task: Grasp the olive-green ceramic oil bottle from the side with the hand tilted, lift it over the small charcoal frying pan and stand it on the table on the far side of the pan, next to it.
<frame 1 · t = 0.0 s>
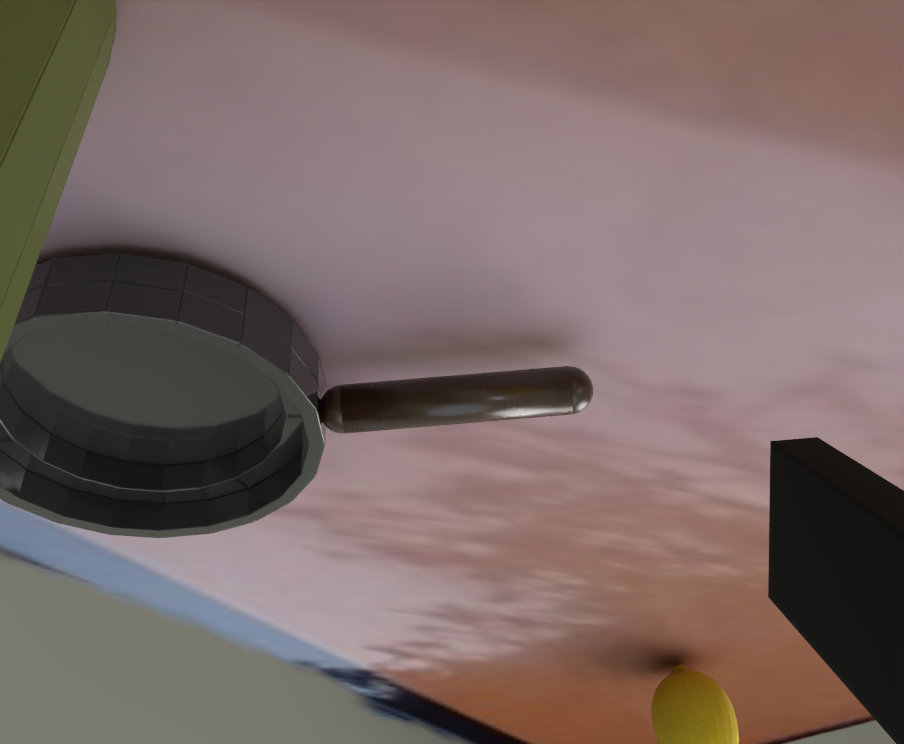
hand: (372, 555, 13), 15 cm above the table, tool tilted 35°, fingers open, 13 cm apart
lemon: (678, 662, 60), on the table
pan: (151, 376, 32), on the table
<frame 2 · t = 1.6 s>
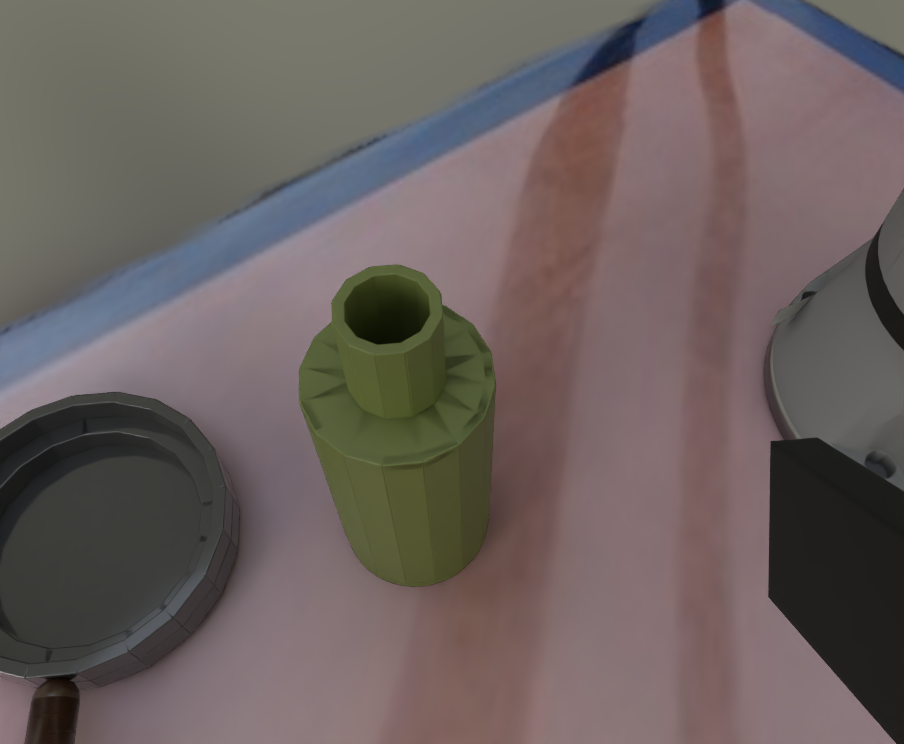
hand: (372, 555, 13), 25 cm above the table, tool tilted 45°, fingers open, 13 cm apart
oil bottle: (417, 517, 40), on the table
pan: (102, 546, 40), on the table
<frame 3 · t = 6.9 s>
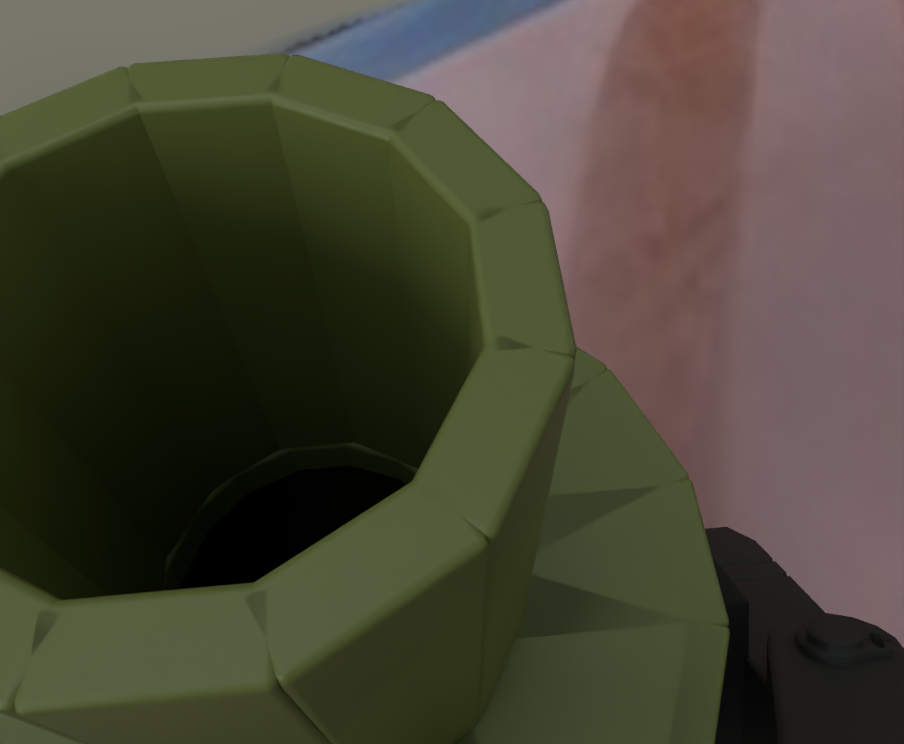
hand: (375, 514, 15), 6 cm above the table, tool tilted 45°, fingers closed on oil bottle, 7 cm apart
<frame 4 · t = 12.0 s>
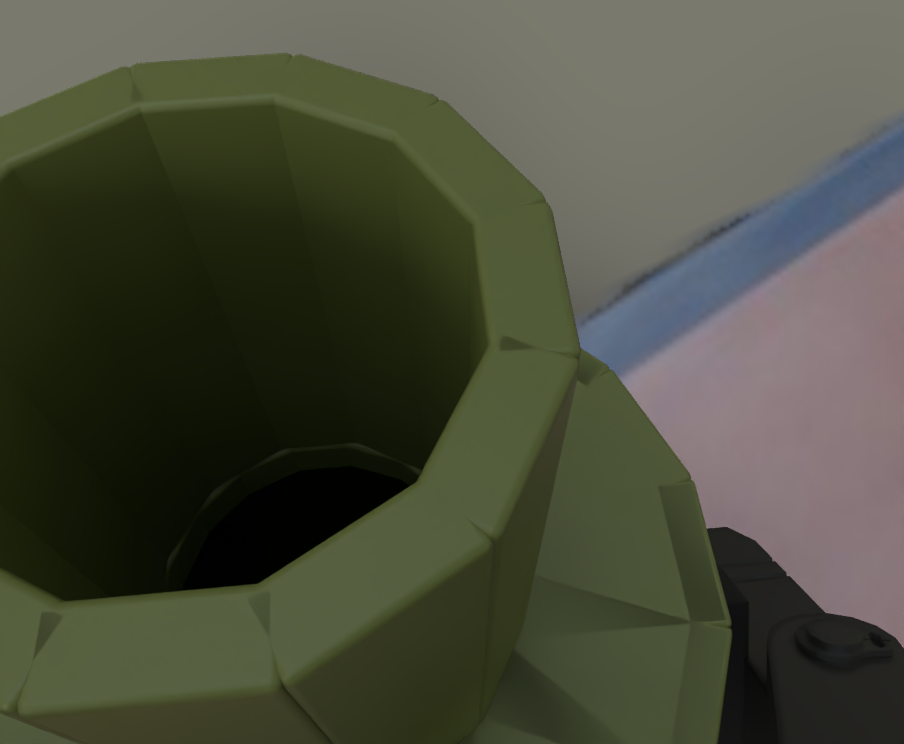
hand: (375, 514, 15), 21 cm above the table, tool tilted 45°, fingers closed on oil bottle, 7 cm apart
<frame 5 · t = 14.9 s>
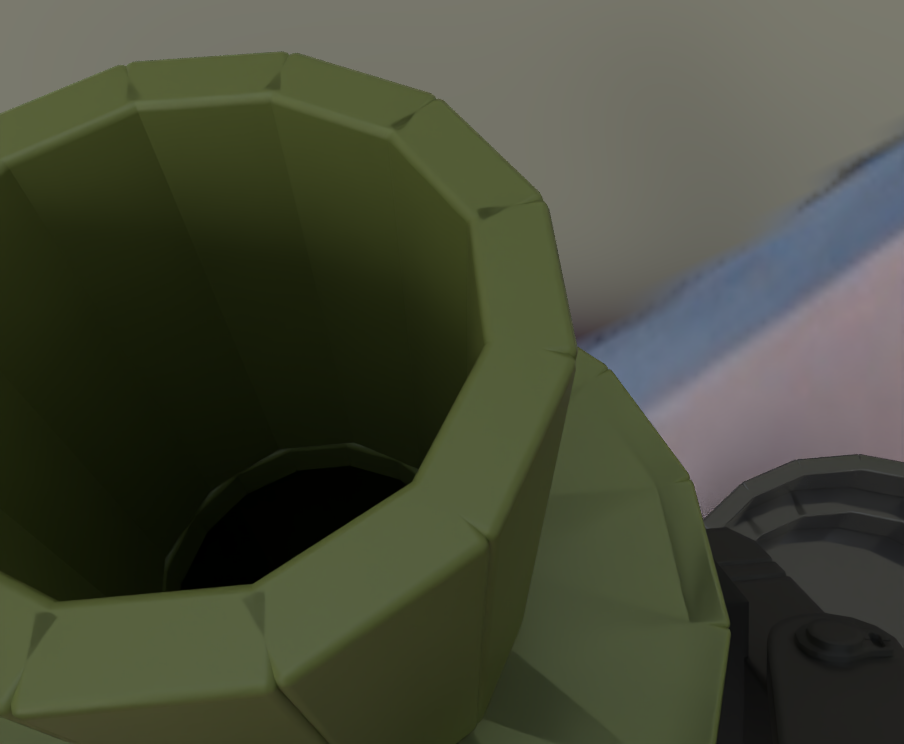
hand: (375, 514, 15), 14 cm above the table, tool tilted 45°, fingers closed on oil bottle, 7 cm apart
pan: (858, 687, 26), on the table
when the fingers open (6 cm above the table, at t = 17.4 s): oil bottle stays where it is, on the table.
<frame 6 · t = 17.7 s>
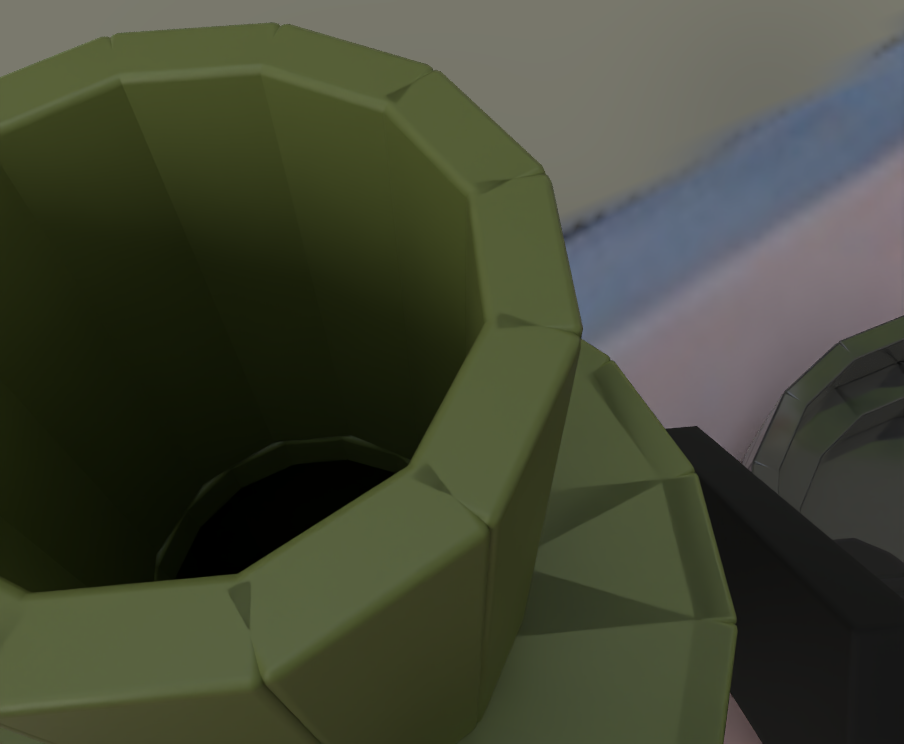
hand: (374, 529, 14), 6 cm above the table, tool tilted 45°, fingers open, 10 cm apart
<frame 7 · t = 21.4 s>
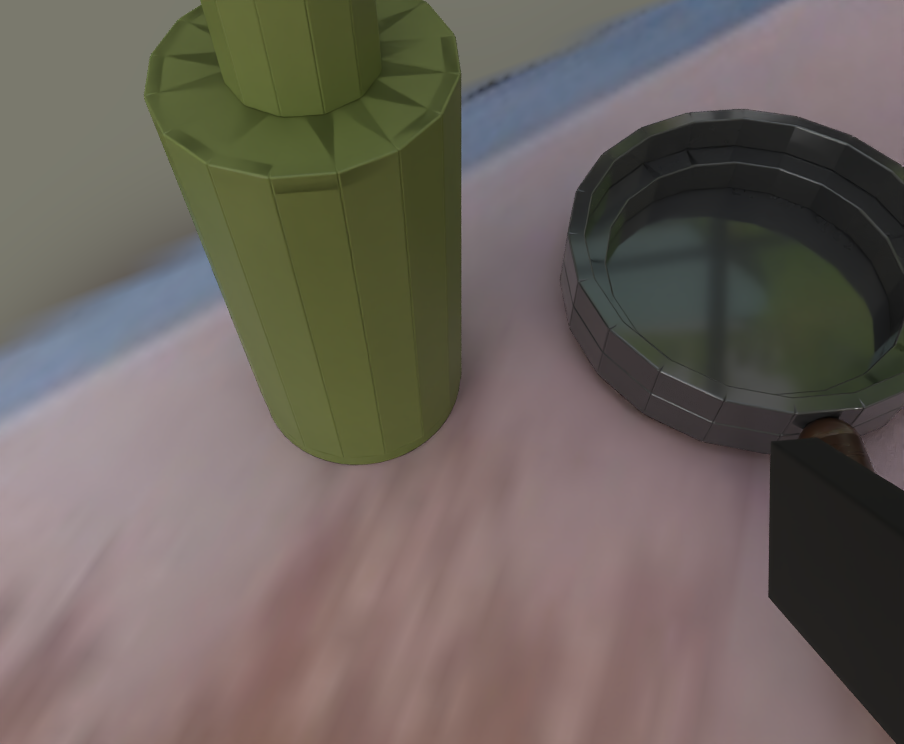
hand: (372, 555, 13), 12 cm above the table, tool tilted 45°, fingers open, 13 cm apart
oil bottle: (363, 377, 29), on the table
pan: (739, 299, 31), on the table
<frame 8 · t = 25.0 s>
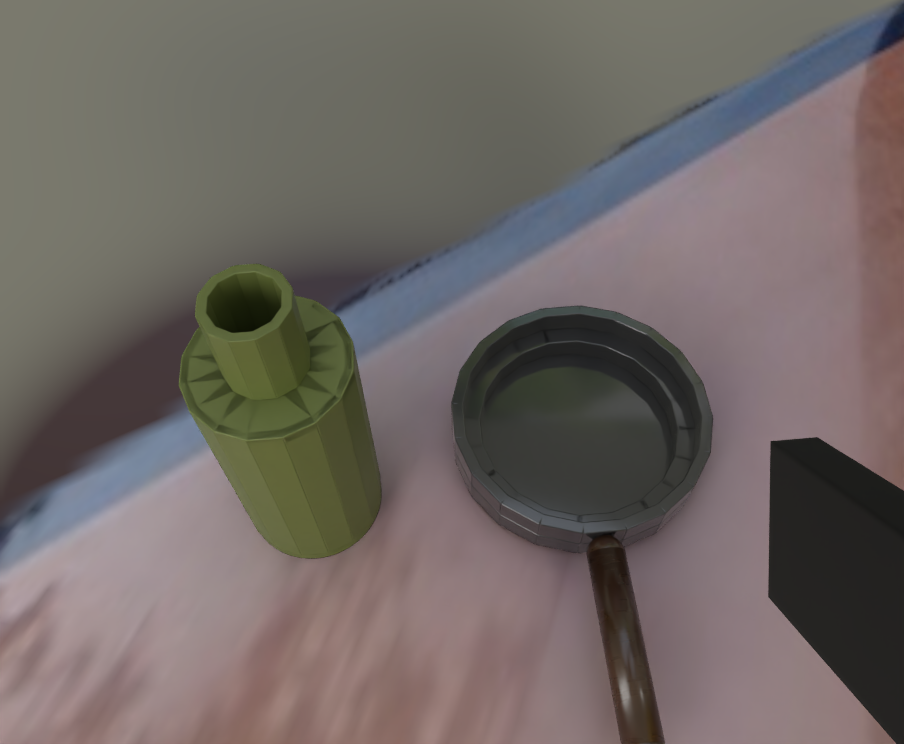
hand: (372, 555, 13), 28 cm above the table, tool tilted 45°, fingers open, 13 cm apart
oil bottle: (316, 496, 44), on the table
pan: (574, 438, 45), on the table
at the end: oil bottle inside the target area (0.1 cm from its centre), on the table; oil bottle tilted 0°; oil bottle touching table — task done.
